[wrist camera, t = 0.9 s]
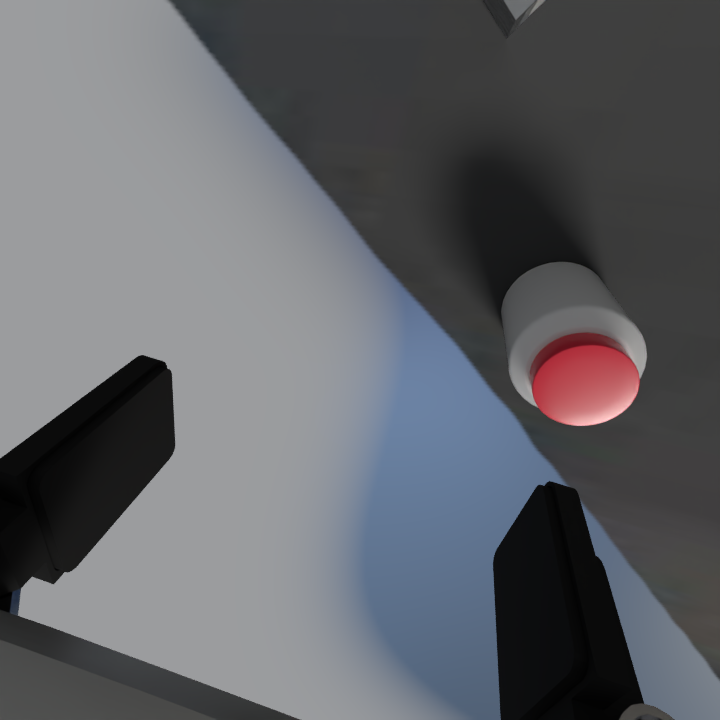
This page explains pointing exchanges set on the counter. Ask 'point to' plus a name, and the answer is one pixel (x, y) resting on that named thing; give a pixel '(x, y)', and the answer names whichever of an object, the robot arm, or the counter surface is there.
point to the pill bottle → (571, 345)
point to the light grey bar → (534, 7)
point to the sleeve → (509, 13)
